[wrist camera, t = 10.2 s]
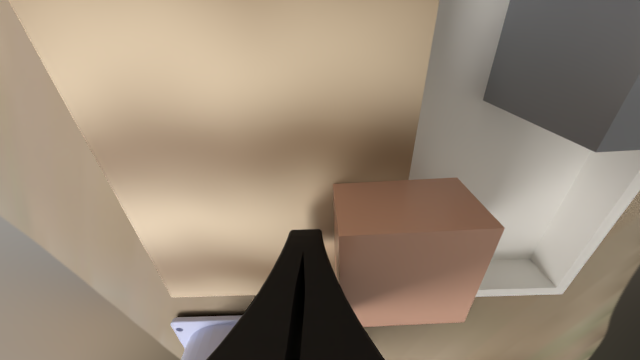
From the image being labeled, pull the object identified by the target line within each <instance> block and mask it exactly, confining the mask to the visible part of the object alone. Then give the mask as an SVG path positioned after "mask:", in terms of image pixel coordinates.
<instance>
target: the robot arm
mask: <svg viewBox="0 0 640 360" xmlns="http://www.w3.org/2000/svg"><path fill="white" fill-rule="evenodd" d="M171 327H172V328H173V330H174V332H175V333H176V335H177V336H178V338H179V340H180V341H181V343H182V345H183V346H184V348H185V350H184V353H183V355H182V358H181V360H385V359H384V358H383V357H382V355H381V354H380V352H379V351H378V349H377V348H376V346H375V345H374V343H373V342H372V340H371V339H370V337H369V336H368V334H367V333H366V331H365V329H364V328H363V326H362V325H361V323H360V321H359V320H358V318H357V316H356V315H355V313H354V311H353V309H352V307H351V306H350V304H349V302H348V300H347V298H346V296H345V294H344V292H343V290H342V288H341V286H340V284H339V282H338V280H337V278H336V275H335V273H334V271H333V268H332V266H331V263H330V261H329V258H328V255H327V252H326V249H325V246H324V242H323V237H322V231H321V230H320V229H303V230H291V231H290V232H289V235H288V238H287V240H286V243H285V245H284V247H283V249H282V251H281V253H280V255H279V257H278V259H277V261H276V263H275V265H274V267H273V269H272V270H271V272H270V274H269V276H268V277H267V279H266V281H265V282H264V284H263V285H262V287H261V289H260V290H259V292H258V294H257V295H256V297H255V298H254V300H253V301H252V303H251V304H250V305H249V307H248V308H247V310H246V311H245V312H244V314H243V315H237V316H203V317H176V318H174V319H173V320H172V322H171Z"/></svg>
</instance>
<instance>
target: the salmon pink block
mask: <svg viewBox="0 0 640 360" xmlns="http://www.w3.org/2000/svg"><path fill="white" fill-rule="evenodd" d="M333 215H334V254H335V275H336V278H337V280H338V282H339V284H340V286H341V288H342V290H343V292H344V294H345V296H346V298H347V300H348V302H349V304H350V306H351V307H352V309H353V311H354V313H355V315H356V316H357V318H358V320H359V321H360V323H361V325H362V326H363V327H373V326H394V325H415V324H436V323H457V322H465V319H466V317H467V315H468V312H469V310H470V308H471V305H472V303H473V301H474V298H475V296H476V294H477V292H478V289H479V287H480V285H481V282H482V280H483V278H484V275H485V273H486V271H487V268H488V266H489V264H490V261H491V259H492V257H493V254H494V252H495V250H496V248H497V245H498V243H499V241H500V238H501V236H502V234H503V231H504V229H505V228H504V227H503V226H502V225H501V223H500V222H499V221H498V220H497V219H496V218H495V217H494V216H493V215H492V214H491V213H490V212H489V211H488V210H487V209H486V208H485V207H484V205H483V204H482V203H481V202H480V201H479V200H478V199H477V198H476V197H475V196H474V195H473V194H472V193H471V192H470V191H469V190H468V189H467V187H466V186H465V185H464V184H463V183H462V182H461V181H460V180H459V179H458V178H457V177H456V178H437V179H418V180H398V181H379V182H359V183H340V184H333Z"/></svg>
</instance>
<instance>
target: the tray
mask: <svg viewBox="0 0 640 360" xmlns="http://www.w3.org/2000/svg"><path fill="white" fill-rule="evenodd" d="M509 2H510V0H439V6H438V11H437V17H436V23H435V29H434V35H433V40H432V46H431V52H430V58H429V64H428V69H427V75H426V81H425V87H424V93H423V98H422V104H421V110H420V116H419V122H418V127H417V133H416V139H415V145H414V151H413V157H412V162H411V168H410V174H409V180H418V179H437V178H456V177H457V178H458V179H459V180H460V181H461V182H462V183H463V184H464V185H465V186H466V187H467V189H468V190H469V191H470V192H471V193H472V194H473V195H474V196H475V197H476V198H477V199H478V200H479V201H480V202H481V203H482V204H483V205H484V207H485V208H486V209H487V210H488V211H489V212H490V213H491V214H492V215H493V216H494V217H495V218H496V219H497V220H498V221H499V222H500V223H501V225H502V226H503V227H504V228H505V229H504V231H503V234H502V236H501V238H500V241H499V243H498V245H497V248H496V250H495V252H494V254H493V257H492V259H491V261H490V264H489V266H488V268H487V271H486V273H485V275H484V278H483V280H482V282H481V285H480V287H479V289H478V292H477V294H476V296H475V297H483V296H517V295H550V294H563V293H564V291H565V290H566V289H567V287H568V286H569V285H570V283H571V282H572V281H573V279H574V278H575V276H576V275H577V274H578V272H579V271H580V270H581V268H582V267H583V266H584V264H585V263H586V262H587V260H588V259H589V258H590V256H591V255H592V254H593V252H594V251H595V250H596V248H597V247H598V246H599V244H600V243H601V242H602V240H603V239H604V238H605V236H606V235H607V234H608V232H609V231H610V230H611V228H612V227H613V226H614V224H615V223H616V221H617V220H618V219H619V217H620V216H621V215H622V213H623V212H624V211H625V209H626V208H627V207H628V205H629V204H630V203H631V201H632V200H633V199H634V197H635V196H636V195H637V193H638V192H639V191H640V150H630V151H612V152H594V151H592V150H589V149H587V148H585V147H583V146H581V145H579V144H576V143H574V142H572V141H570V140H568V139H566V138H563V137H561V136H559V135H557V134H555V133H553V132H550V131H548V130H546V129H544V128H542V127H540V126H537V125H535V124H533V123H531V122H529V121H527V120H524V119H522V118H520V117H518V116H516V115H514V114H511V113H509V112H507V111H505V110H503V109H501V108H498V107H496V106H494V105H492V104H490V103H487V102H485V101H483V98H484V94H485V90H486V87H487V83H488V79H489V75H490V72H491V68H492V64H493V61H494V57H495V53H496V50H497V46H498V42H499V39H500V35H501V31H502V27H503V24H504V20H505V16H506V13H507V9H508V5H509Z"/></svg>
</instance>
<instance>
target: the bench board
mask: <svg viewBox="0 0 640 360" xmlns="http://www.w3.org/2000/svg"><path fill="white" fill-rule="evenodd" d="M8 1H9V3H10V5H11V6H12V8H13V10H14V12H15V14H16V15H17V17H18V19H19V21H20V23H21V25H22V26H23V28H24V30H25V32H26V34H27V35H28V37H29V39H30V41H31V43H32V45H33V46H34V48H35V50H36V52H37V54H38V55H39V57H40V59H41V61H42V63H43V64H44V66H45V68H46V70H47V72H48V74H49V75H50V77H51V79H52V81H53V83H54V84H55V86H56V88H57V90H58V92H59V94H60V95H61V97H62V99H63V101H64V103H65V104H66V106H67V108H68V110H69V112H70V114H71V115H72V117H73V119H74V121H75V123H76V124H77V126H78V128H79V130H80V132H81V134H82V135H83V137H84V139H85V141H86V143H87V144H88V146H89V148H90V150H91V152H92V154H93V155H94V157H95V159H96V161H97V163H98V164H99V166H100V168H101V170H102V172H103V174H104V175H105V177H106V179H107V181H108V183H109V184H110V186H111V188H112V190H113V192H114V194H115V195H116V197H117V199H118V201H119V203H120V204H121V206H122V208H123V210H124V212H125V213H126V215H127V217H128V219H129V221H130V223H131V224H132V226H133V228H134V230H135V232H136V233H137V235H138V237H139V239H140V241H141V243H142V244H143V246H144V248H145V250H146V252H147V253H148V255H149V257H150V259H151V261H152V263H153V264H154V266H155V268H156V270H157V272H158V273H159V275H160V277H161V279H162V281H163V283H164V284H165V286H166V288H167V290H168V292H169V293H170V295H171V297H205V296H238V295H257V294H258V292H259V290H260V289H261V287H262V285H263V284H264V282H265V281H266V279H267V277H268V276H269V274H270V272H271V270H272V269H273V267H274V265H275V263H276V261H277V259H278V257H279V255H280V253H281V251H282V249H283V247H284V245H285V243H286V240H287V238H288V235H289V232H290V231H291V230H303V229H320V230H321V231H322V237H323V242H324V246H325V249H326V252H327V255H328V258H329V261H330V263H331V266H332V268H333V271H334V273H335V254H334V215H333V184H340V183H359V182H379V181H398V180H409V174H410V168H411V162H412V157H413V151H414V145H415V139H416V133H417V127H418V122H419V116H420V110H421V104H422V98H423V93H424V87H425V81H426V75H427V69H428V64H429V58H430V52H431V46H432V40H433V35H434V29H435V23H436V17H437V11H438V6H439V0H8Z"/></svg>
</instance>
